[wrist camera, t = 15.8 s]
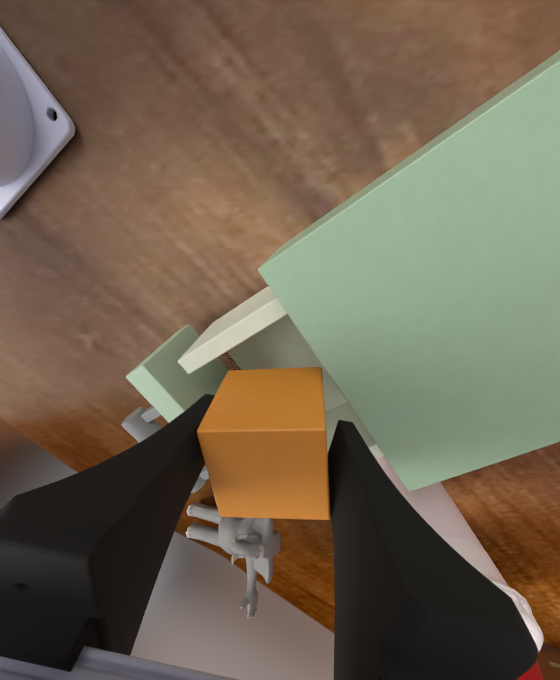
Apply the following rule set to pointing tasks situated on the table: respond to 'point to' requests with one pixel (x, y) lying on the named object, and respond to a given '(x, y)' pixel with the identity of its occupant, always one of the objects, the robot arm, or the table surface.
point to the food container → (549, 662)
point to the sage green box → (445, 290)
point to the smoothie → (459, 537)
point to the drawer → (208, 372)
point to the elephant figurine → (240, 544)
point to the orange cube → (268, 444)
